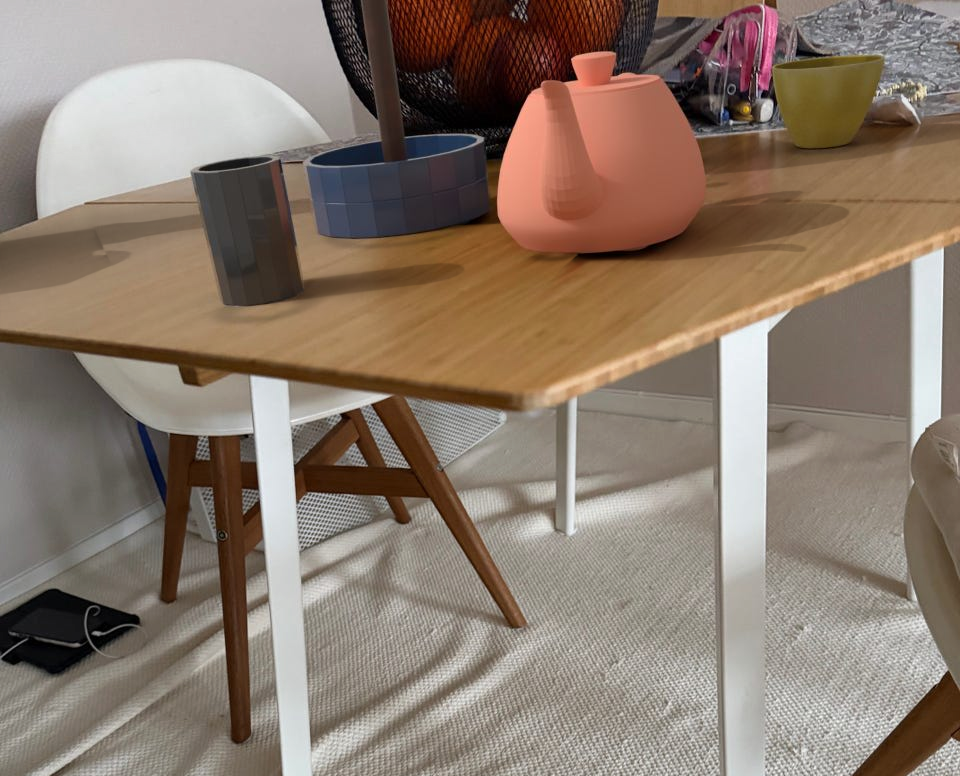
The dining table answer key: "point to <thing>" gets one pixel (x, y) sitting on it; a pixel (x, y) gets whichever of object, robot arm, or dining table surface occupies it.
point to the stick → (384, 79)
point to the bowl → (398, 187)
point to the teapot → (600, 163)
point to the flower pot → (826, 97)
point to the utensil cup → (249, 230)
